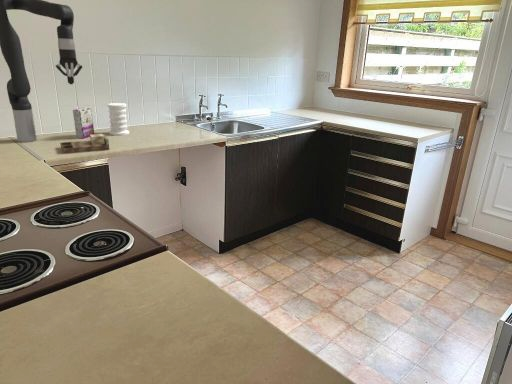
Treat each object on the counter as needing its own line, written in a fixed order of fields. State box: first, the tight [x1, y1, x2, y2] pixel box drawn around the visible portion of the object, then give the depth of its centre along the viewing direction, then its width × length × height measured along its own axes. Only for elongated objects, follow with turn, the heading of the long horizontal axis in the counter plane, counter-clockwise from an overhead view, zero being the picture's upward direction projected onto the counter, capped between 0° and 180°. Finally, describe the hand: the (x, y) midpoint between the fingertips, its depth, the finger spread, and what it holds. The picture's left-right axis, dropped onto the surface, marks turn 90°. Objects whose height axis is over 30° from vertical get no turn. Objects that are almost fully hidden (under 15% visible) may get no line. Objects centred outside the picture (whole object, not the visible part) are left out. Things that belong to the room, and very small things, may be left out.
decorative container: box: [107, 102, 130, 136], centre depth 239 cm, size 12×12×18 cm
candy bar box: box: [72, 106, 95, 140], centre depth 228 cm, size 11×5×16 cm, turn 168°
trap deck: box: [59, 133, 110, 154], centre depth 204 cm, size 22×14×6 cm, turn 120°
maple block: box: [89, 133, 105, 145], centre depth 207 cm, size 6×6×4 cm
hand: (71, 84), depth 201 cm, fingers closed
